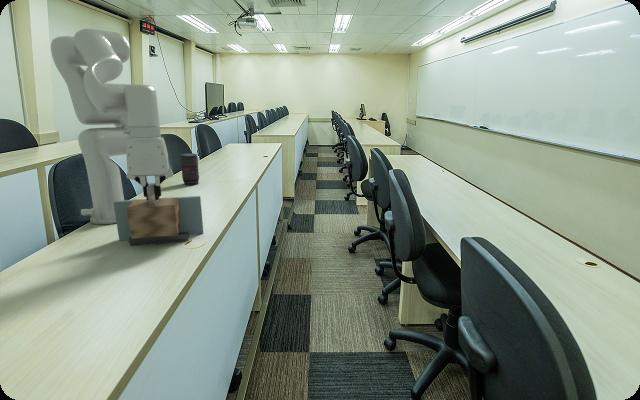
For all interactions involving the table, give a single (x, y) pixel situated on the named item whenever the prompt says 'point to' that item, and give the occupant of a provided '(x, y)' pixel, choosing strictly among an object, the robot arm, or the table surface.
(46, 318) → the table surface
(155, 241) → the rail
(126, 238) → the wall board
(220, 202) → the table surface
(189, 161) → the camera lens
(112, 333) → the table surface
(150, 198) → the walnut cabinet
